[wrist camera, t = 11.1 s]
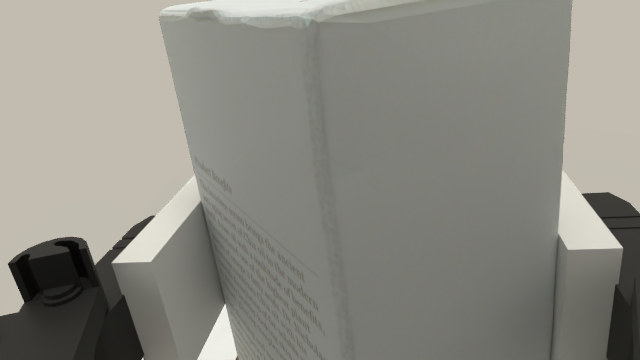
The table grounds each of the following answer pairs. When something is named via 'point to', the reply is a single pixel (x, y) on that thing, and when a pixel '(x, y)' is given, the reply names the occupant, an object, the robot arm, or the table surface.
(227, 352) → the table surface
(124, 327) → the robot arm
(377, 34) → the skincare box
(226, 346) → the table surface
